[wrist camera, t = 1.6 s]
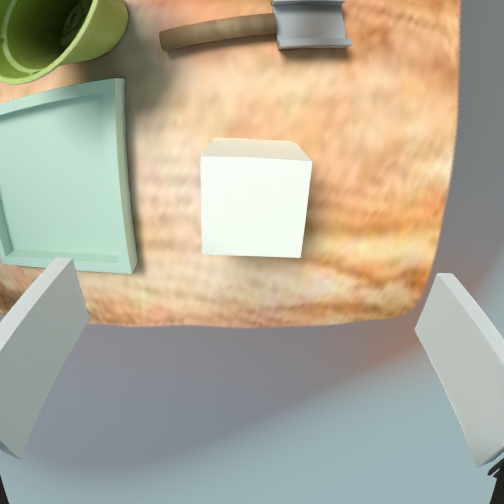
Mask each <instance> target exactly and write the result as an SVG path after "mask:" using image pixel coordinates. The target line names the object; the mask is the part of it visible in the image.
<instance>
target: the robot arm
mask: <svg viewBox="0 0 504 504" xmlns="http://www.w3.org/2000/svg"><path fill="white" fill-rule="evenodd" d="M88 320H89V315H88V312H87V308H86V305H85V302H84V299H83V295H82V292H81V288H80V285H79V281H78V277H77V273H76V270H75V266H74V262H73V258H63V257H56V258H55V259H54V260H53V261H52V262H51V263H50V264H49V265H48V267H47V268H46V269H45V270H44V271H43V272H42V273H41V274H40V275H39V276H38V278H37V279H36V280H35V281H34V282H33V283H32V284H31V286H30V287H29V288H28V289H27V290H26V291H25V293H24V294H23V295H22V296H21V297H20V298H19V300H18V301H17V302H16V303H15V304H14V306H13V307H12V308H11V309H10V311H9V312H8V313H7V314H6V316H5V317H4V318H3V319H2V321H1V323H0V449H1V450H2V451H4V452H6V453H8V454H10V455H12V456H14V457H16V458H18V459H20V460H21V458H22V455H23V452H24V450H25V448H26V445H27V443H28V440H29V438H30V436H31V433H32V431H33V429H34V426H35V424H36V422H37V419H38V417H39V415H40V413H41V410H42V408H43V406H44V404H45V402H46V400H47V398H48V396H49V394H50V392H51V389H52V387H53V385H54V383H55V381H56V379H57V377H58V375H59V373H60V371H61V370H62V368H63V366H64V364H65V362H66V360H67V358H68V356H69V354H70V352H71V351H72V349H73V347H74V345H75V343H76V341H77V340H78V338H79V336H80V334H81V332H82V331H83V329H84V327H85V325H86V324H87V322H88ZM414 330H415V332H416V334H417V336H418V338H419V340H420V342H421V344H422V345H423V347H424V349H425V351H426V353H427V355H428V357H429V359H430V361H431V363H432V365H433V367H434V369H435V371H436V373H437V375H438V377H439V379H440V381H441V383H442V386H443V388H444V390H445V392H446V394H447V396H448V398H449V400H450V403H451V405H452V407H453V410H454V412H455V414H456V416H457V419H458V421H459V423H460V426H461V428H462V430H463V433H464V435H465V438H466V440H467V443H468V445H469V448H470V451H471V453H472V456H473V458H474V461H475V464H476V467H477V468H478V467H480V466H482V465H485V464H487V463H489V462H491V461H493V460H495V459H496V458H497V457H498V456H499V455H500V454H501V453H503V452H504V339H503V338H502V336H501V335H500V333H499V332H498V331H497V329H496V328H495V327H494V325H493V324H492V322H491V321H490V320H489V318H488V317H487V316H486V314H485V313H484V312H483V311H482V309H481V308H480V307H479V305H478V304H477V303H476V302H475V300H474V299H473V298H472V297H471V296H470V294H469V293H468V292H467V291H466V290H465V288H464V287H463V286H462V285H461V283H460V282H459V281H458V280H457V279H456V278H455V276H454V275H453V274H451V273H437V275H436V278H435V280H434V283H433V286H432V288H431V291H430V294H429V296H428V299H427V301H426V304H425V306H424V308H423V311H422V313H421V316H420V318H419V320H418V323H417V325H416V327H415V329H414ZM499 468H500V470H499V471H498V472H496V473H495V474H494V476H493V477H495V478H497V481H496V485H495V488H494V491H493V495H492V498H491V501H490V504H504V458H503V459H502V460H500V461H499V462H498V463H497V464H496V465H494V466H493V467H492V468H491V469H490V470H489V473H488V475H491V474H492V473H494V472H495V471H496V470H498V469H499ZM0 504H9V502H8V499H7V496H6V493H5V490H4V487H3V483H2V480H1V476H0Z"/></svg>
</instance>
